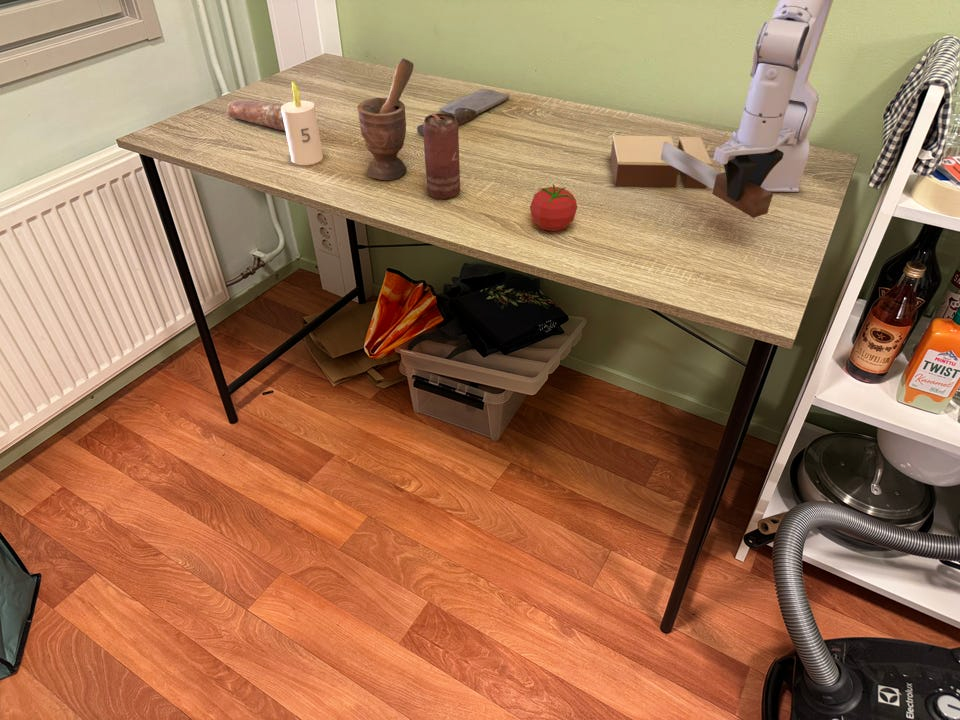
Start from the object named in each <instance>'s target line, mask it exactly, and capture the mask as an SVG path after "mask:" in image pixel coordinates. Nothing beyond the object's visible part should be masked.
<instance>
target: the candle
mask: <svg viewBox="0 0 960 720" xmlns="http://www.w3.org/2000/svg"><path fill="white" fill-rule="evenodd" d="M291 90H292V98H293V100H292V101H288V102H286V103H282V104H283V105H282V106H281V111H282V116H283V121H284V125H285V130H286V131H285V135H286V140H287V145H288V149H289V150H288V151H289V155H290V160H291V162H292V163H293V164H295V165H299V166H310V165H316V164H317V163H320V162H321V161H322V160H323V158H324V155H323V148H322V142H321V136H320V131H319V124H318V119H317V113H316V107H315V104H314V102H312V101H310V100H302V99H301V95H300V92H299V89H298V86H297V84H296V82H294V81H293V80H292V81H291Z"/></svg>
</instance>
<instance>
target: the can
mask: <svg viewBox="0 0 960 720" xmlns="http://www.w3.org/2000/svg"><path fill="white" fill-rule="evenodd" d="M422 124H423V135H422V136H423V145H424V146H423V150H424V165H425V179H426V180H425V181H426V192H427V194H428V195H429V196H430V197H431V198H433V200H434V199H435V200H438V201H448V200H453V199H455V198H456V197H457V196H458V195H459V194H460V192H461V173H460V171H461V169H460V138H459V136H460V134H459V125H458V122H457V120H456V118H455V117H454V116H453V115H452V114H451V113H447V112H438V113H431V114H429V115H427V116H425V118H424V121H423V123H422Z"/></svg>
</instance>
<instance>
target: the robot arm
mask: <svg viewBox="0 0 960 720" xmlns="http://www.w3.org/2000/svg"><path fill="white" fill-rule="evenodd" d="M833 2H834V0H778V2H777V5H776V7H775V8H774V10H773V13H772V15H771V18H770V19H769V21H763V23H762V25H761V26H760V29H759V31H758V34H757V37H756V39H755V44H754V47H753V55H752V64H751V70H750V73H749V76H750V77H751V80H750V83H749V87H748V91H747V95H746V100H745V103H744V107H743V111H742V115H741V119H740V123H739V126H738V129H736V130H733V131H732V138H730V139H729V140H727V141H726V142H725V143H724V144H721V145H720V146H717V147H715V149H714V153H713V154H714V155H713V159H712V160H713V161H714V162H716V163H717V164H720V165H722V166H723V167H724V172H726V179H727V197H729V198H731V199H733V200H734V201H739V200H740V198H741V196H742V194H743V192H744V189H745V186H746V183H747V181H748V180H749V181H751V182H752V183H754V184H756V185H758V186H760V187H762V188H764V189H766V190H767V191H769V192H771V193H773V192H776V193H777V192H778V193H799V192H800V188H799V186H800V184H801V180H802V178H803V175H804V172H805V168H806V165H807V163H808V160H809V156H810V140H809V138H807V137H808V135H809V133H810V130H811V128H812V124H813V122H814V119H815V116H816V112H817V106H818V104H819V100H820V96H819V93H818V91H817V90H816V89H815V87H814V85H812V84H811V83H810V81H809V77H810V74H811V70H812V68H813V64H814V61H815V58H816V55H817V52H818V48H819V45H820V42H821V40H822V36H823V34H824V30H825V27H826V24H827V21H828V18H829V15H830V13H831V9H832V6H833Z"/></svg>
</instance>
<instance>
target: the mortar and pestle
mask: <svg viewBox="0 0 960 720" xmlns="http://www.w3.org/2000/svg"><path fill="white" fill-rule="evenodd" d="M413 71H414V63H413V61H410V60H409V59H406V58H401V59H400V60H399V61H398V63H397V65H396V68H395V71H394V74H393V79H392V83H391V86H390V89H389V94H388V96H387V97H372V98H367V99H365V100H363V101H361V102H359V103H358V104H357V105H356V109H357V114H358V122H359V129H360V134H361V137H362V138H363V140H364V144H365V148H366V149H367V151H369V153H371V154H372V155H373V159H372V160H371V161H370V162H369V163H368V165H367V174H368V175H367V176H368V177H369V178H371V179H374V180H379V181H393V180H397V179H399V178H401V177H403V176H404V175H405V174H406V172H407V167H406V165H405V163H404V162H403V160H402V159H401V158H400V157H398V154H399V152H400V151H401V150H402V148H403V147H404V144H405V139H406V134H407V120H406V119H407V117H406V106H405V103H404V102H403V101H402V100H400V99H401V97H402V94H403V92H404V90H405V88H406V86H407V84H408V83H409V81H410V78H411V76H412V73H413Z"/></svg>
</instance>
